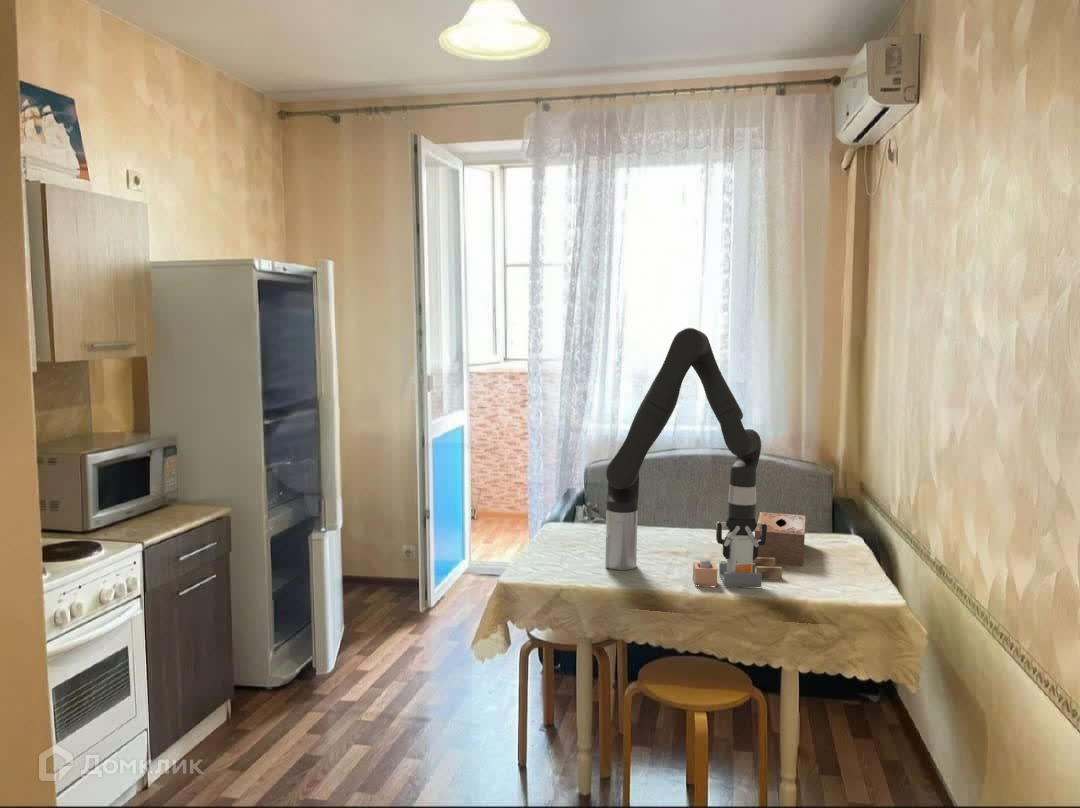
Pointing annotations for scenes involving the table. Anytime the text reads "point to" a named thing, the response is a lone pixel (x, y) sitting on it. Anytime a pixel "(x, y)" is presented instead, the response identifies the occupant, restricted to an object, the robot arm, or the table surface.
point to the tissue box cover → (783, 538)
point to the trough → (767, 568)
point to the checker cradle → (739, 577)
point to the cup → (705, 573)
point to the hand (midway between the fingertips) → (740, 558)
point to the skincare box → (740, 554)
